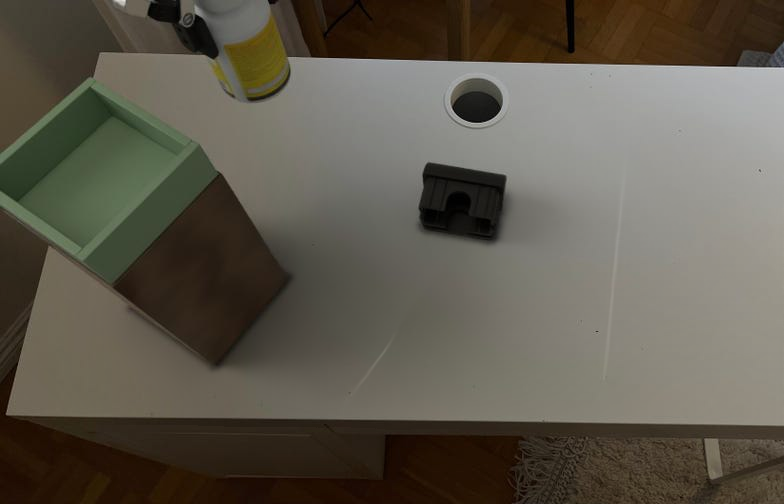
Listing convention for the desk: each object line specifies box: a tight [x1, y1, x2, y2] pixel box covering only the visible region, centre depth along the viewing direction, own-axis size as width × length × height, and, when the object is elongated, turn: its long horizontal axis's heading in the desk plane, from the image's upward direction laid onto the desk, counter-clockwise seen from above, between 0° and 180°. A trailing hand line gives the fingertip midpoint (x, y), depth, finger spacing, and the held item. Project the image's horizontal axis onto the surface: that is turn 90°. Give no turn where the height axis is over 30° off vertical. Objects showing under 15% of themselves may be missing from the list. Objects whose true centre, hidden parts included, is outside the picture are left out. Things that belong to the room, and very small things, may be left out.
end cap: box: [417, 162, 508, 241], centre depth 81 cm, size 10×7×7 cm
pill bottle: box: [194, 0, 292, 104], centre depth 55 cm, size 6×6×12 cm
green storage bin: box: [0, 76, 218, 284], centre depth 54 cm, size 13×13×5 cm
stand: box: [2, 170, 289, 367], centre depth 67 cm, size 13×13×24 cm
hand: (233, 21), depth 54 cm, fingers closed on pill bottle, 6 cm apart
